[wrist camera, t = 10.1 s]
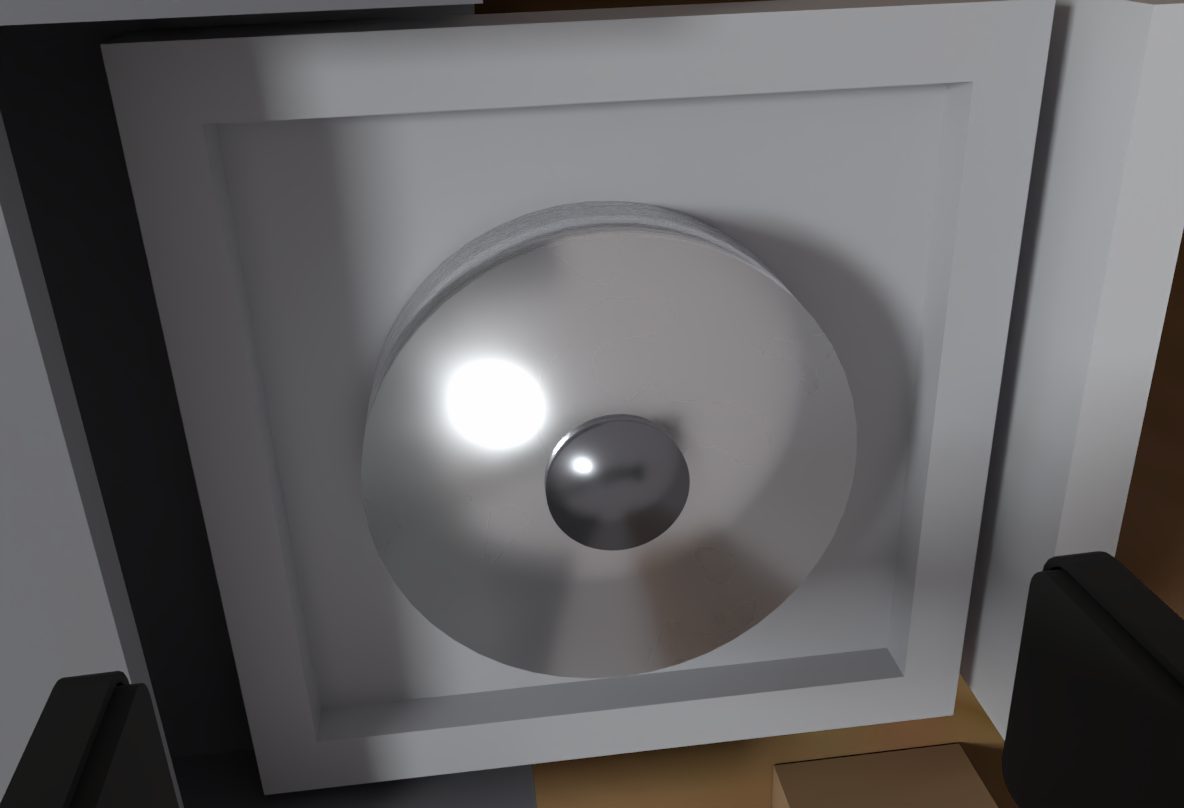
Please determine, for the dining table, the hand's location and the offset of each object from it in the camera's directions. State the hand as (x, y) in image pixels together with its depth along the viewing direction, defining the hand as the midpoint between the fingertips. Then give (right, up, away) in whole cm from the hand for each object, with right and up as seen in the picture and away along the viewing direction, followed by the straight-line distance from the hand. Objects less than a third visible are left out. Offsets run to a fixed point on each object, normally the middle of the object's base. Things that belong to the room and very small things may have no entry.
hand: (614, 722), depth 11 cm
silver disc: (0, +3, +5) cm, 6 cm away
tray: (+1, +3, +6) cm, 7 cm away
